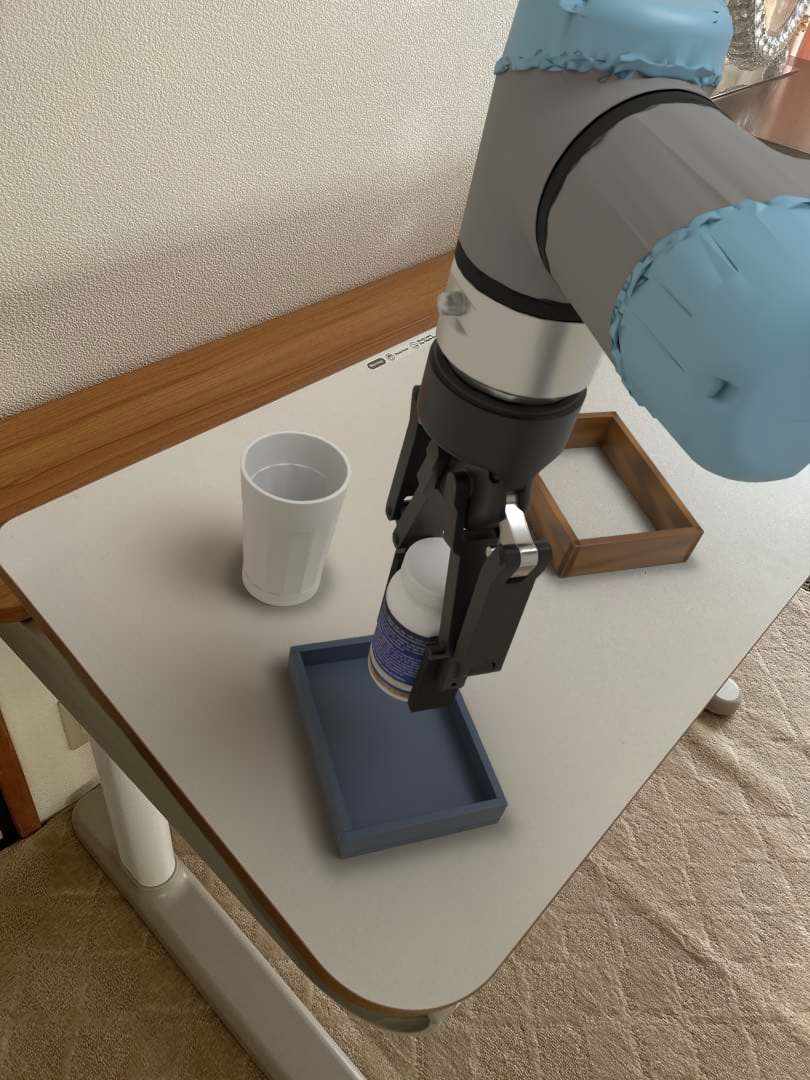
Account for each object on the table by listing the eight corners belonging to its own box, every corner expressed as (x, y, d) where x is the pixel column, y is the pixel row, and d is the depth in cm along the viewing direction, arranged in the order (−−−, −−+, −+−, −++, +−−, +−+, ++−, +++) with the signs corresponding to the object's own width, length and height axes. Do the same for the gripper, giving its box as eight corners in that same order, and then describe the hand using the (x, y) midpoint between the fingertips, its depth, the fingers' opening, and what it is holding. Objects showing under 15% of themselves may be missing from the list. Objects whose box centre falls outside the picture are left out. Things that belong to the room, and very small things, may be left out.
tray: (498, 822, 60) (508, 804, 58) (340, 859, 56) (346, 840, 54) (425, 646, 70) (432, 625, 68) (286, 667, 66) (290, 646, 64)
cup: (265, 527, 75) (278, 416, 67) (347, 568, 74) (370, 459, 66) (211, 585, 70) (218, 471, 62) (298, 630, 68) (316, 520, 60)
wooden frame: (686, 561, 83) (704, 531, 80) (560, 578, 78) (574, 546, 75) (602, 440, 94) (615, 410, 91) (486, 448, 89) (497, 417, 86)
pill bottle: (436, 720, 55) (476, 619, 48) (352, 684, 55) (379, 578, 48) (464, 655, 59) (504, 552, 52) (386, 621, 59) (415, 516, 52)
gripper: (375, 252, 45) (319, 560, 61) (519, 508, 33) (403, 806, 49) (507, 254, 48) (420, 549, 64) (683, 492, 36) (522, 780, 52)
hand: (413, 661), depth 56 cm, fingers closed on pill bottle, 6 cm apart
